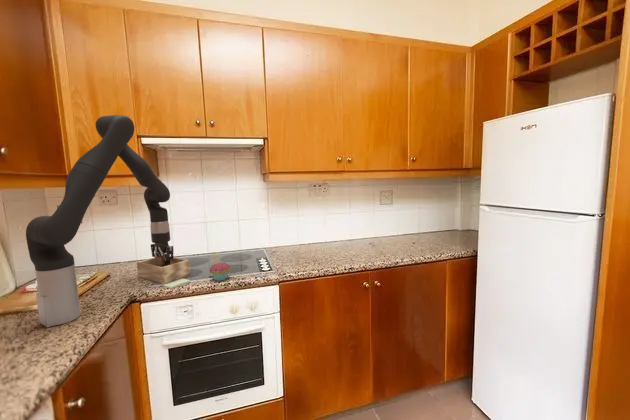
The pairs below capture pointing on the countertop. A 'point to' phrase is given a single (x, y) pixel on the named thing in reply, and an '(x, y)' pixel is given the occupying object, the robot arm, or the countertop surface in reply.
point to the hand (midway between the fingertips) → (163, 267)
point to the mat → (176, 283)
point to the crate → (163, 270)
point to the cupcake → (219, 270)
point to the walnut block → (160, 261)
